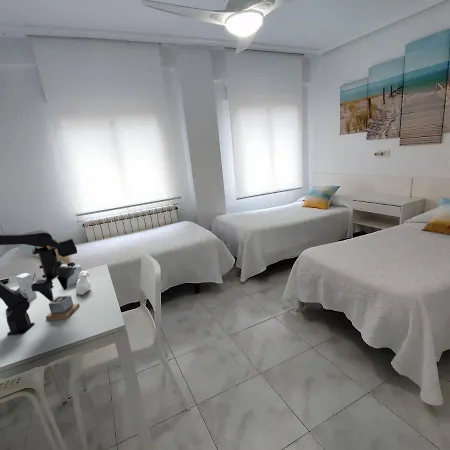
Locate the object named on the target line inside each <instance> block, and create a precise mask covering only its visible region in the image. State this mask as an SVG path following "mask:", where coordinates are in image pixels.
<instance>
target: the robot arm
mask: <svg viewBox="0 0 450 450" xmlns="http://www.w3.org/2000/svg"><path fill="white" fill-rule="evenodd" d="M10 245H11V246H12V245H13V246H14V245H25V246H32V247H34V248H33V250H32V251H31V254H32V255H37V254H38V257H39V262H40V265H39V269H42V272H43V275H41V277H42V279H37V280H36V281H35V282H33V284H32V286H31V288H32V291H36V293H37V292H38V293H39V294H41V295H43V297H45V298H46V299H47V300H48V301H49V302H51V301H54V294H53V289H54V287H55V285H53V284H54V283H53V281H55V279H57V280H58V282H59V284H60V286H61V288H62V289H63V290H64V291H67V290H68V278H70V276H72V275H73V274H74V270H75V269H76V267H75V265H76V264H75V262H74V261H69V262H68V263H65V264H63V263H62V261H61V260H58V257H59V256H60V257H61V258H65V257H68V256H74V255H76V254H78V249H77V245H75V242H74V239H73V238H68V239H65V240H61V241H58V240H56V239H54V238H53V236H52V235H51V233H49V232H48V231H46V230H43V229H41V230H34V231H33V230H32V231H29V232H24V233H0V246H10ZM0 299H1V300H2V301H3V303H4V304H5V305H6V307H7V308H6V309H5V317H6V318H5V319H6V322H7V325H8V329H9V331H8V332H7V333H6V335H7V336H10V335H11V336H12V335H13V336H14V335H23V334H25V333H26V332H27V331H29V329H30V328H32V327H33V326H34V325H35V322H31V319H30V316H29V313H28V312H27V311H28V310H29V309H30V306H31V305H30V304H31V303H30V300H28V296H27V293H24V292H22V291H21V289H20V288H19V287H17V289H11V288H10V287H8V286H7V285H6V284H4V283H3V282H1V281H0Z"/></svg>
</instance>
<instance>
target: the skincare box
mask: <svg viewBox="0 0 450 450" xmlns="http://www.w3.org/2000/svg"><path fill="white" fill-rule="evenodd" d="M15 277H16V281H17V285H18V288H20V289H21V291H22V292H24V293H27V296H28V300H29V301H31V300H33V299H36V298H37V292H36V291H32V288H31V286H32V284H33V283H34V280H33V277H32V274H30V273H26V272H24V273H21V274H18V275H16V276H15Z"/></svg>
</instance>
